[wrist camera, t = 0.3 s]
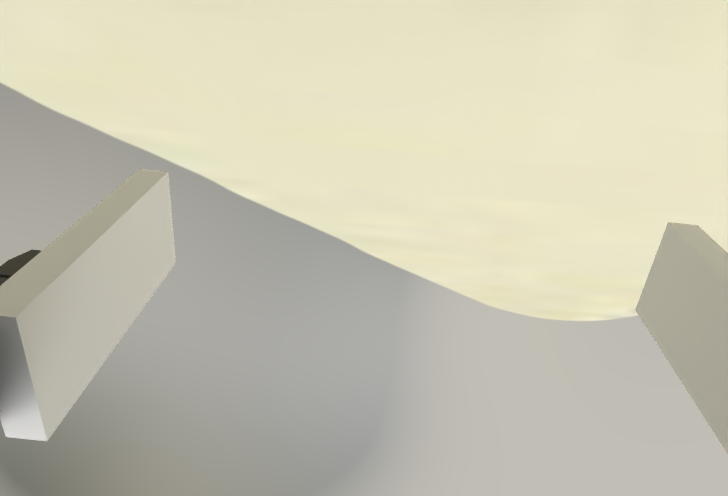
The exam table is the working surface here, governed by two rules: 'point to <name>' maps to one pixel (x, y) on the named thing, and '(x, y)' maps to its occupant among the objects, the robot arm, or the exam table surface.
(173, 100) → the exam table surface
